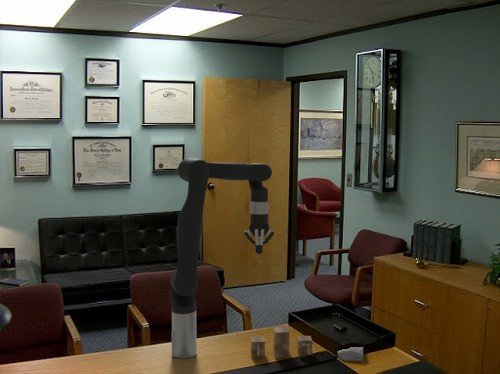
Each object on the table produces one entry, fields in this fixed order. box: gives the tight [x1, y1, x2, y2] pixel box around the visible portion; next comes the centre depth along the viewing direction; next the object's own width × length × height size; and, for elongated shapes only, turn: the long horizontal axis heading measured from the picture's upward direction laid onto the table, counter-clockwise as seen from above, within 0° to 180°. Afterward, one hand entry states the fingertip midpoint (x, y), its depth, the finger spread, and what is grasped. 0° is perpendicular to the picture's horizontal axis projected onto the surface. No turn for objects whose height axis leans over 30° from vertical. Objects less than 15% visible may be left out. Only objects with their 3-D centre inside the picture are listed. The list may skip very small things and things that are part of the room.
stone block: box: [336, 346, 364, 362], centre depth 221 cm, size 12×5×10 cm
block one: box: [250, 336, 266, 359], centre depth 219 cm, size 5×5×6 cm
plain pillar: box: [273, 326, 290, 359], centre depth 220 cm, size 6×6×10 cm
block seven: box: [296, 335, 313, 357], centre depth 220 cm, size 5×5×6 cm
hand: (258, 253), depth 237 cm, fingers closed
